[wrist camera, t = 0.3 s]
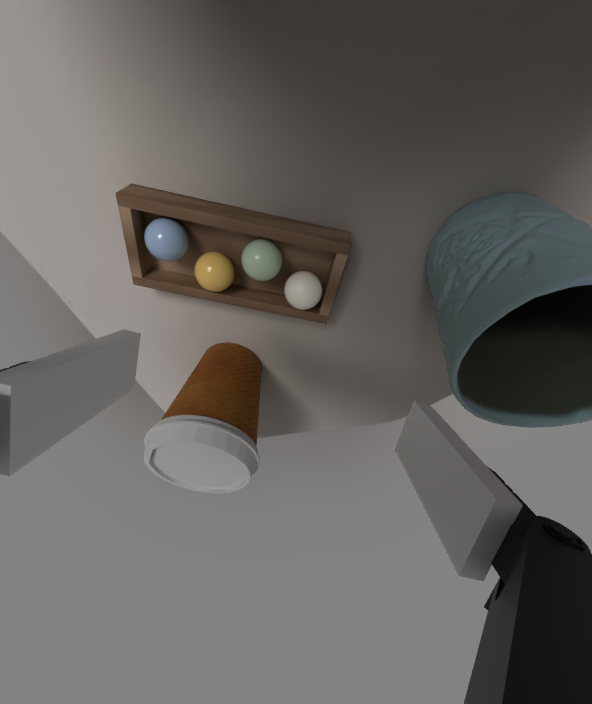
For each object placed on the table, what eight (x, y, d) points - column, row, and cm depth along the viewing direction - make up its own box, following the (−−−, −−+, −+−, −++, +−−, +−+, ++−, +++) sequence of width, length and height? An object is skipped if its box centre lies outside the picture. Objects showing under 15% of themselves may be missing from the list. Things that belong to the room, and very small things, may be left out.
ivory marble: (289, 260, 25) (285, 279, 23) (326, 268, 25) (326, 288, 23) (283, 292, 27) (279, 312, 25) (318, 299, 27) (316, 320, 25)
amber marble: (200, 241, 24) (187, 259, 22) (239, 249, 25) (230, 268, 22) (201, 275, 26) (189, 294, 24) (237, 282, 27) (228, 302, 24)
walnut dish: (131, 183, 22) (115, 193, 21) (350, 232, 23) (351, 245, 22) (145, 271, 27) (133, 284, 25) (326, 308, 28) (326, 323, 26)
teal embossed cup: (582, 259, 23) (734, 380, 14) (449, 329, 28) (500, 449, 20) (531, 140, 19) (706, 210, 10) (385, 249, 24) (414, 358, 15)
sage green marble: (247, 228, 23) (238, 245, 21) (287, 237, 24) (282, 255, 21) (244, 264, 25) (236, 284, 23) (281, 272, 26) (276, 292, 23)
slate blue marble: (152, 207, 23) (133, 223, 21) (193, 216, 23) (178, 233, 21) (157, 246, 25) (140, 264, 23) (195, 254, 25) (181, 272, 23)
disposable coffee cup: (234, 314, 29) (192, 422, 21) (294, 375, 34) (280, 483, 26) (170, 353, 34) (112, 456, 25) (231, 402, 39) (201, 502, 30)
